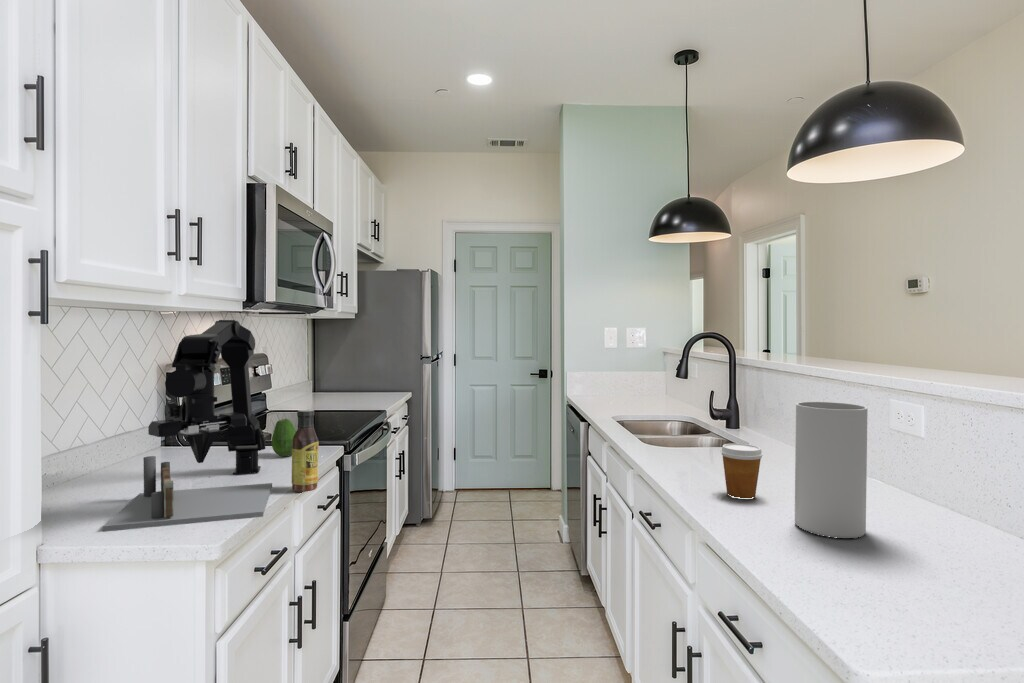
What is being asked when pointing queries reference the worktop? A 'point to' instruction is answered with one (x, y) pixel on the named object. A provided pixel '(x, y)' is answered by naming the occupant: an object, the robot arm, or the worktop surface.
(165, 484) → the gate
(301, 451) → the sauce bottle
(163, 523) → the gate frame
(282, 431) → the avocado
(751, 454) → the disposable coffee cup
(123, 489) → the worktop surface
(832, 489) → the cylinder vase
